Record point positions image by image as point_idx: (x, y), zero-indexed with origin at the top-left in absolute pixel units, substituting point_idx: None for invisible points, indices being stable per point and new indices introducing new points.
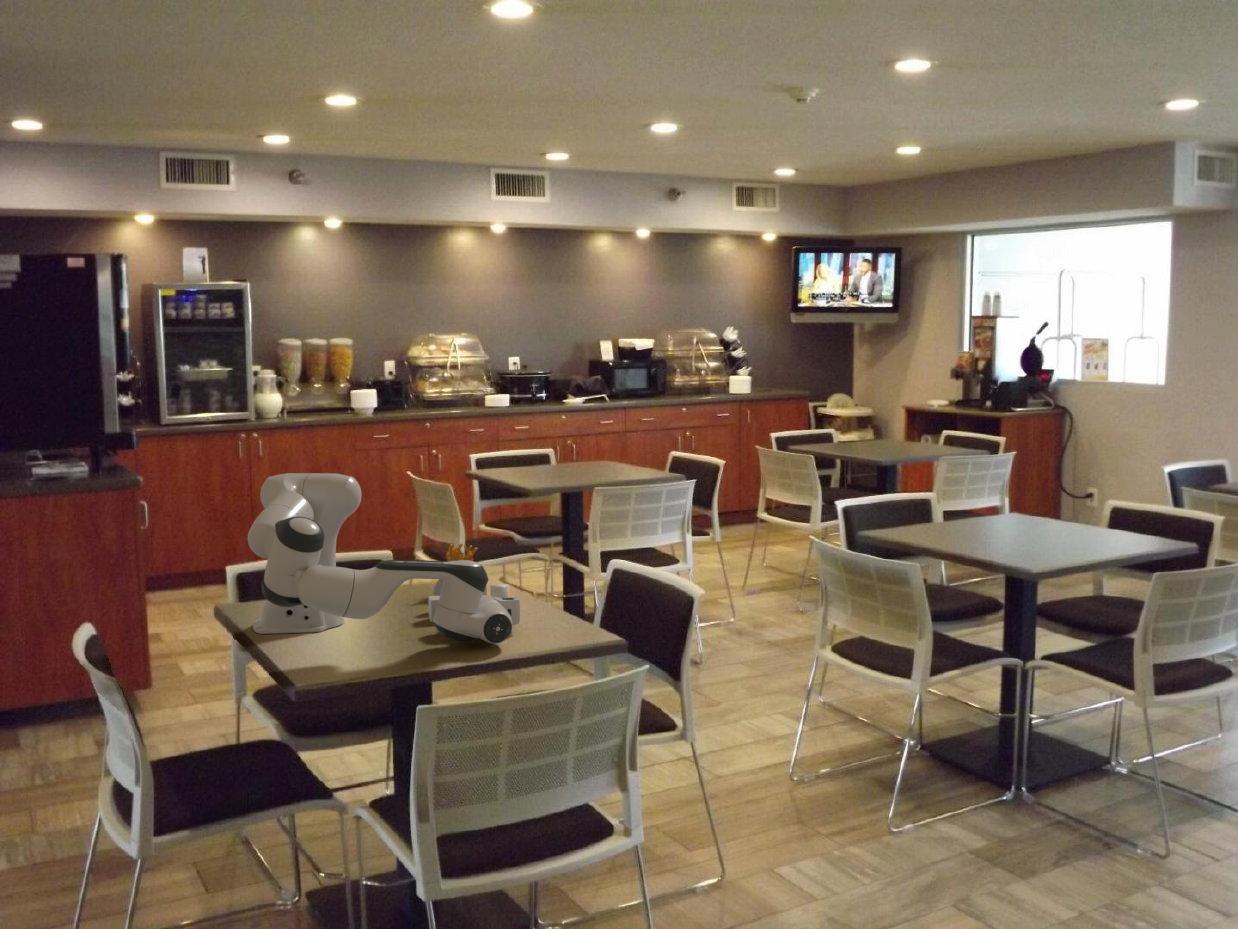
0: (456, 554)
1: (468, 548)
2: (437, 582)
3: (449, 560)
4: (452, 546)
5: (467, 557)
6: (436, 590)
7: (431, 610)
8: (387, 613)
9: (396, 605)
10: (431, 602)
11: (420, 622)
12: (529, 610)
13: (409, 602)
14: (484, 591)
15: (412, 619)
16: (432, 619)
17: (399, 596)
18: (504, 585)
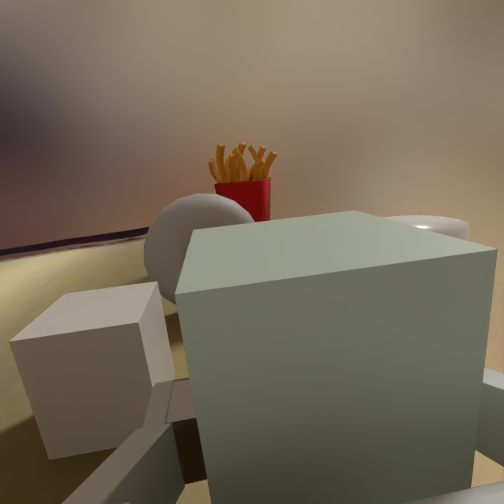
0: (232, 164)
1: (258, 153)
2: (150, 226)
3: (219, 180)
4: (223, 149)
5: (256, 169)
6: (147, 254)
7: (29, 397)
8: (17, 329)
9: (94, 287)
10: (15, 353)
11: (9, 440)
12: (492, 313)
13: (134, 275)
14: (457, 314)
15: (23, 389)
16: (49, 442)
17: (136, 258)
18: (435, 222)
